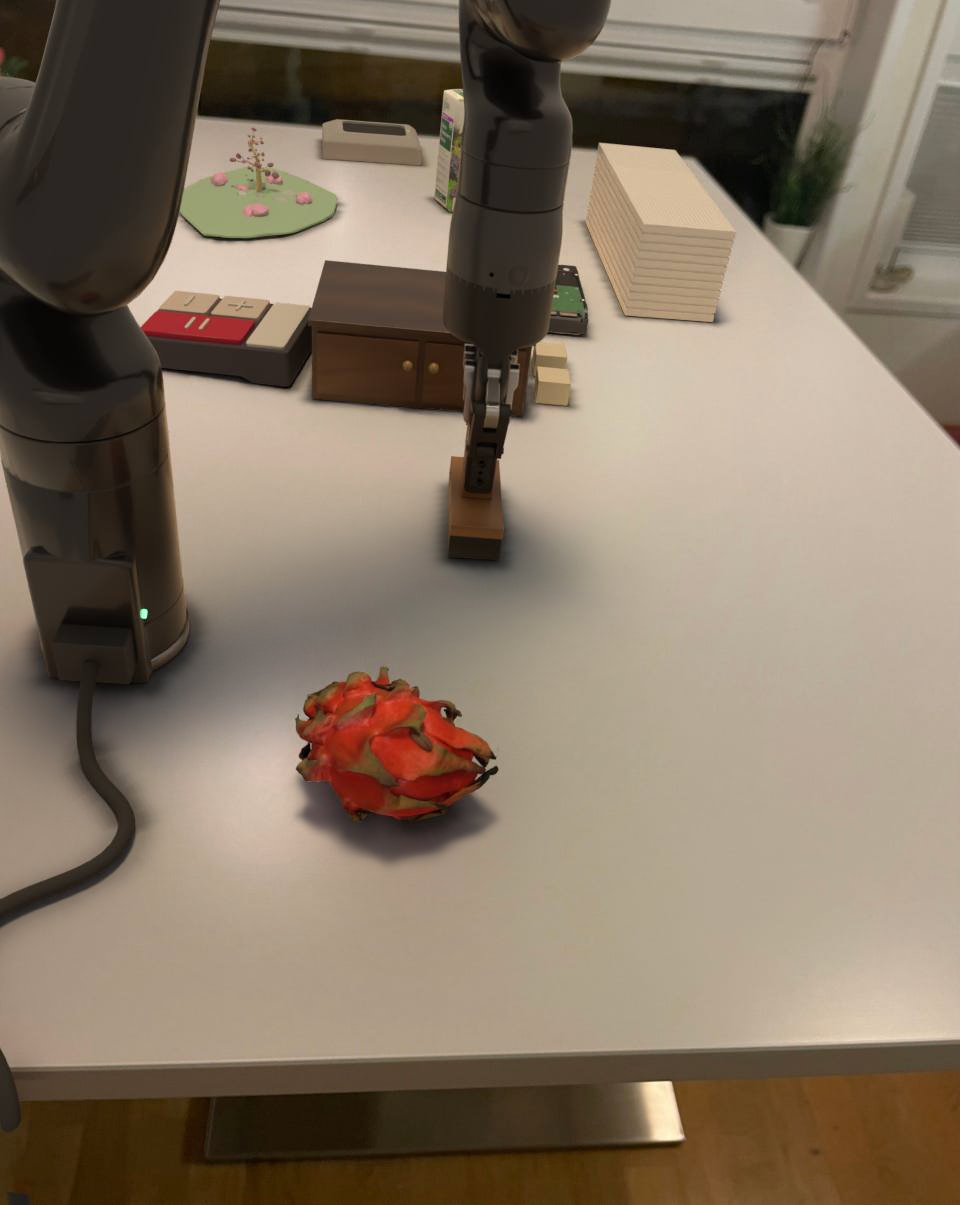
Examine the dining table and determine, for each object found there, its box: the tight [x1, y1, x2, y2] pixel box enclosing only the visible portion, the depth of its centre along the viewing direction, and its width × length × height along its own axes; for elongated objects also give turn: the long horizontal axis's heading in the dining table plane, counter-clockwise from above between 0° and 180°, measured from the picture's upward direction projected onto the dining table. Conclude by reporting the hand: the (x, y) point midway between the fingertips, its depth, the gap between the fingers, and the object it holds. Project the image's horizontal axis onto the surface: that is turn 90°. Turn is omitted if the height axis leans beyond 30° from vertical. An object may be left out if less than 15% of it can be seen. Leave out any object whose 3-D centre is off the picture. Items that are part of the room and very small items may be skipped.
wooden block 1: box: [531, 341, 568, 377], centre depth 105 cm, size 3×3×2 cm
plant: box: [179, 127, 338, 239], centre depth 132 cm, size 25×21×9 cm
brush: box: [447, 424, 505, 561], centre depth 79 cm, size 10×4×9 cm, turn 1°
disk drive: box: [547, 264, 589, 336], centre depth 118 cm, size 10×3×15 cm
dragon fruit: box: [294, 666, 500, 823], centre depth 58 cm, size 8×8×12 cm
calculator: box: [140, 290, 312, 387], centre depth 100 cm, size 11×4×15 cm
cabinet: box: [308, 259, 536, 417], centre depth 99 cm, size 15×21×8 cm
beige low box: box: [321, 118, 423, 166], centre depth 158 cm, size 10×4×15 cm
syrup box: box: [434, 88, 464, 213], centre depth 140 cm, size 6×6×14 cm
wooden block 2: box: [533, 367, 572, 407], centre depth 100 cm, size 3×3×2 cm
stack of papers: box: [585, 142, 737, 323], centre depth 129 cm, size 32×11×11 cm, turn 4°
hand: (477, 479), depth 79 cm, fingers closed on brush, 2 cm apart
